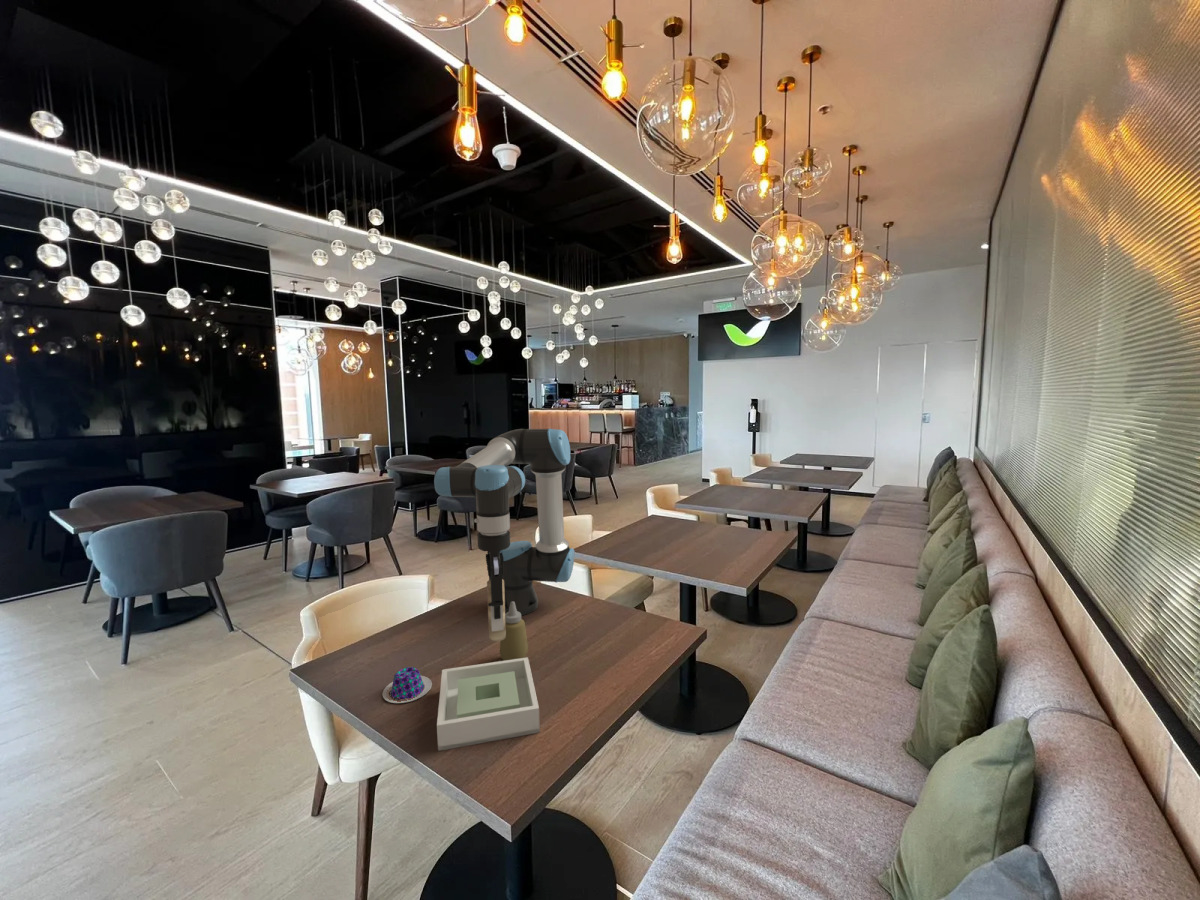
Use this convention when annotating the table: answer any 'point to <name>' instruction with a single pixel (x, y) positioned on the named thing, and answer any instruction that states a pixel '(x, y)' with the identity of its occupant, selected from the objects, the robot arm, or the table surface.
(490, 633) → the peg
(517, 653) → the squeeze bottle
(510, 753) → the table surface
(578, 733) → the table surface
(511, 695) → the bore plate
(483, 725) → the open box
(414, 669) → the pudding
